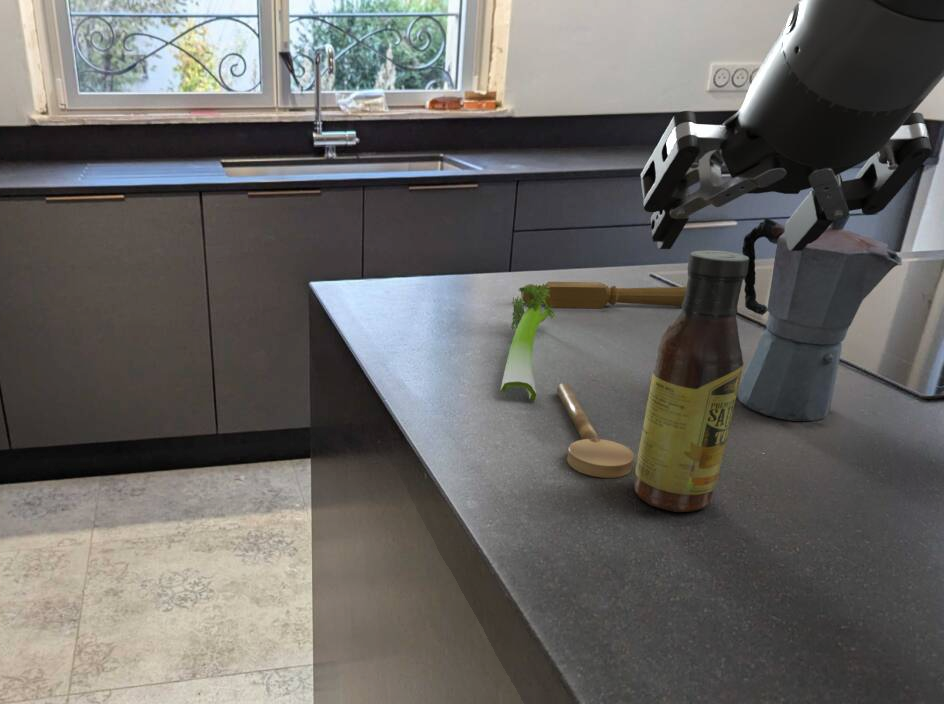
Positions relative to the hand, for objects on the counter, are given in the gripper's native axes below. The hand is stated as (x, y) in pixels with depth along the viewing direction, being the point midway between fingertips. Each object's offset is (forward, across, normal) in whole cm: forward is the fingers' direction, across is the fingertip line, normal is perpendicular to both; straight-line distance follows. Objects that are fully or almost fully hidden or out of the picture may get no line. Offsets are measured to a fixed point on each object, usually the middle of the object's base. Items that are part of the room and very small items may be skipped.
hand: (726, 238), depth 55 cm
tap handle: (+60, +13, +29) cm, 68 cm away
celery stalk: (+43, -5, +12) cm, 45 cm away
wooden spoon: (+28, -3, -3) cm, 28 cm away
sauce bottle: (+18, +1, -13) cm, 22 cm away
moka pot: (+33, +19, +2) cm, 38 cm away
